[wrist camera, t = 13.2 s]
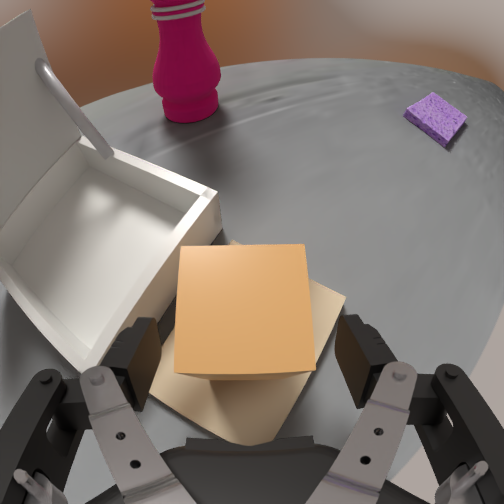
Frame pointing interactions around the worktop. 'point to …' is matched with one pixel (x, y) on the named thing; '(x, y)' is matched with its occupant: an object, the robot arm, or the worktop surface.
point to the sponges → (436, 118)
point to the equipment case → (84, 212)
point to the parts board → (243, 385)
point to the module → (243, 313)
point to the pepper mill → (184, 62)
